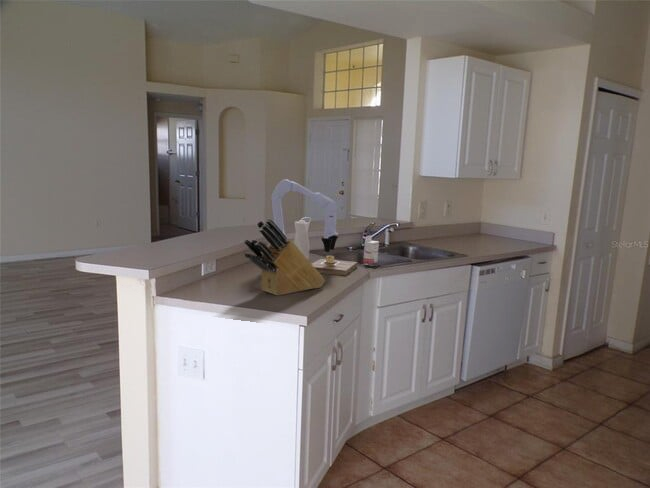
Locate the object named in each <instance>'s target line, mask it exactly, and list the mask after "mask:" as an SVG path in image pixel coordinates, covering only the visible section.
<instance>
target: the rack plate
mask: <svg viewBox="0 0 650 488" xmlns="http://www.w3.org/2000/svg"><path fill="white" fill-rule="evenodd" d="M311 264H312V265H313V267H314V268H315V269H316V270H317V271H318V273H319V274H327V275H338V276H345V277H346V276H347V275H349V274H350V273H352V272H353V271H354V270H356V268H358V262H357V261H348V260H337V259H334V264H326V259H325V258H319V259H318V260H316V261H314V262H311Z"/></svg>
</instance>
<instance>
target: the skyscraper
mask: <svg viewBox="0 0 650 488" xmlns="http://www.w3.org/2000/svg"><path fill="white" fill-rule="evenodd" d="M304 219H309V221H308V222H306V220H304ZM311 220H312V218H311V217H309V216H304V217H302V218H301V219H299V220H297V221H296V220H295V221H294V229H295V235H294V239H293V243H294V244H295V245H296V246H297V247H298V249H299V250H300V251H301V252H302V253H303V254H304V256H305V257H306V258H307V259H308V260H309V258H310V257H309V255H310V240H309V234H308V232H309V229H310V228H309V227H310V223H311Z"/></svg>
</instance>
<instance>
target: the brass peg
mask: <svg viewBox="0 0 650 488" xmlns="http://www.w3.org/2000/svg"><path fill="white" fill-rule="evenodd" d="M325 258H326V264H334V260H335V256H334V255H326V256H325Z"/></svg>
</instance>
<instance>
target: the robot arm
mask: <svg viewBox="0 0 650 488" xmlns="http://www.w3.org/2000/svg"><path fill="white" fill-rule="evenodd" d="M290 191H291V192H298V193H299V194H302V195H303V196H305V197H308V198H309V199H311V202H312V203H313V204H315V205H317V206H318V207H320V208H322V209H326V210H325V217H324V232H323V237H321V241H322V243H323V248H324V252H325V253H329V252H330V251H331V250H332V251H333V250H335V246H336V242H337V240H338V239H339V233H338V232H337V210H338V208H339V207H338V204H337V203H336V201H334V200H333V199H331V197H327V196H326V195H324V194H323V192H317V191H316V192H314V191H311V190H310V189H307V188H306V187H304V186H303V185H301V184H299V183H297V182H295V181H292V180H289V179H287V178H284V179H281V180H280V182H278V183H277V184H276V186H275V187H274V189H273V192H272V194H271V195H270V196H271V197H270V199H271V205H272V206H271V207H272V214H273V215H272V217H273V222H274V223H275V224H276V225H277V226H278V228H279V229H280V230H281V231H282V232H283V234H284V235H285V236H286V232H285V226H284V225H285V224H284V217H283V215H284V214H283V209H282V207H283V206H282V198H283V197H284V195H285V194H288V192H290ZM286 238H287V239H288V237H287V236H286Z"/></svg>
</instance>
